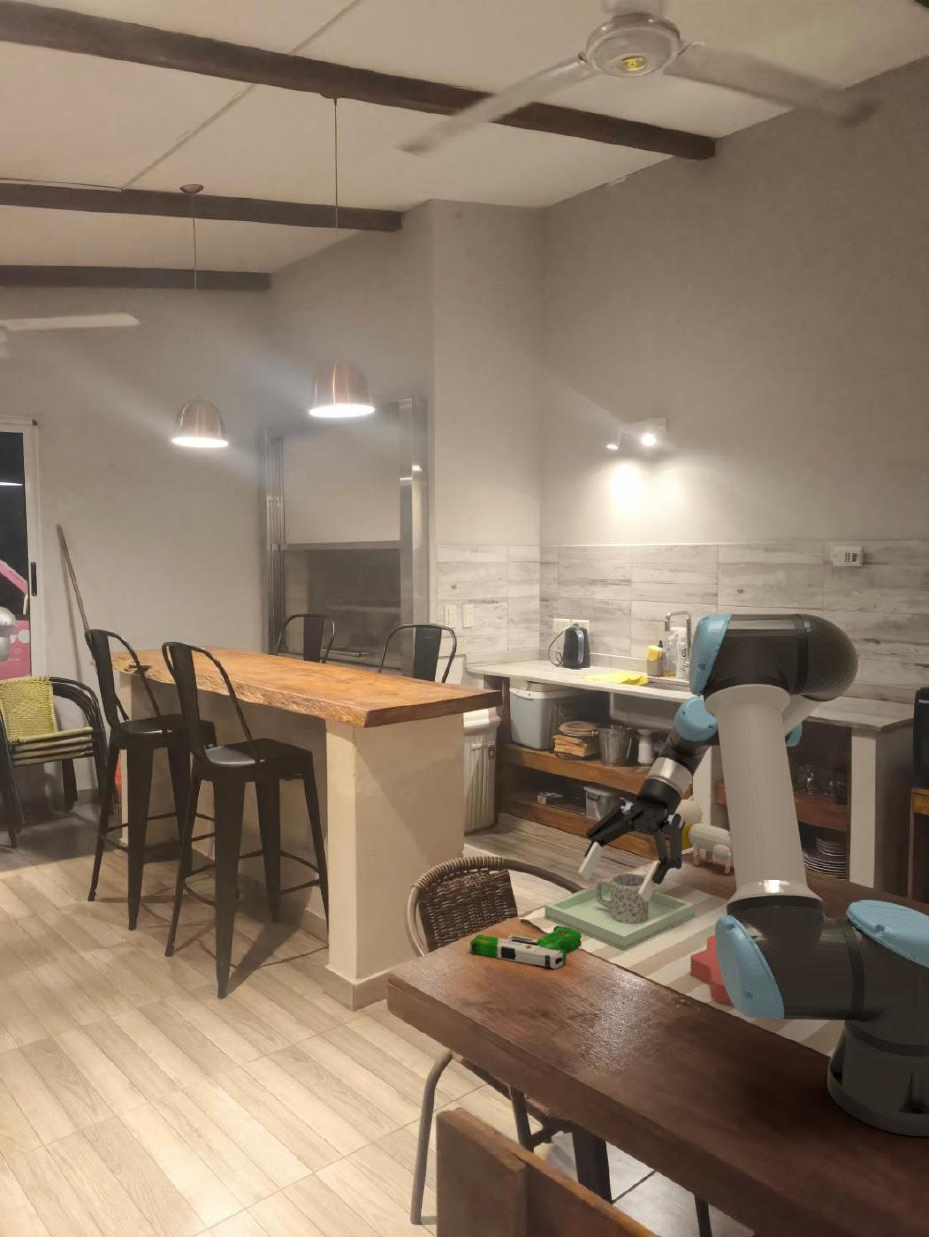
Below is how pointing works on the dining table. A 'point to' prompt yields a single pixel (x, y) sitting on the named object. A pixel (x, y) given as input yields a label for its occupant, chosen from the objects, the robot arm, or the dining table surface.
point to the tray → (599, 924)
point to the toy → (703, 835)
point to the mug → (624, 898)
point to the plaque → (710, 971)
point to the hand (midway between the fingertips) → (612, 886)
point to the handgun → (530, 947)
